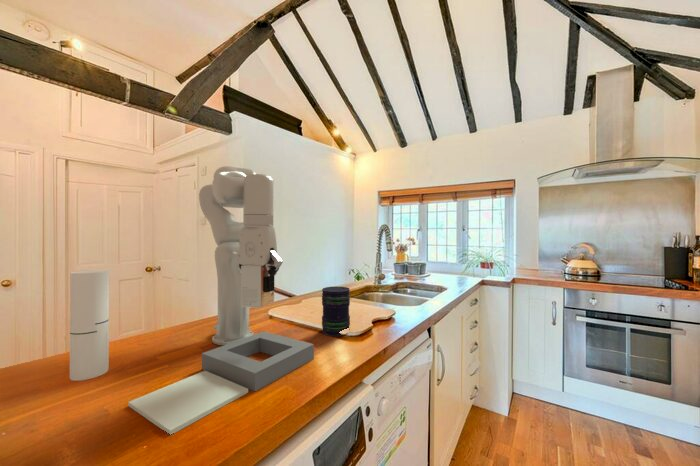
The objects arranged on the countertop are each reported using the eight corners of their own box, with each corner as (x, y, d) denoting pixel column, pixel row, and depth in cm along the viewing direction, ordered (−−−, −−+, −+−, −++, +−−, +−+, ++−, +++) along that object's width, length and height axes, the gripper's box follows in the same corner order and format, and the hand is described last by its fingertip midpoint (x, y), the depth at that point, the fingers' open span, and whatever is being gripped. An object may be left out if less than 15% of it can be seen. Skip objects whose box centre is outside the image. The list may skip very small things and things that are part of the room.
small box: (260, 308, 73) (260, 265, 73) (240, 307, 74) (240, 265, 74) (275, 301, 81) (275, 262, 81) (256, 300, 82) (256, 262, 82)
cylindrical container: (115, 369, 74) (115, 270, 74) (81, 382, 68) (82, 273, 68) (96, 365, 77) (97, 269, 77) (62, 377, 70) (63, 272, 70)
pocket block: (201, 369, 74) (201, 353, 74) (263, 344, 91) (263, 331, 91) (255, 391, 64) (255, 373, 64) (313, 358, 81) (313, 344, 81)
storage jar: (326, 337, 97) (326, 292, 97) (318, 328, 106) (318, 287, 106) (354, 334, 101) (354, 290, 101) (344, 325, 110) (344, 285, 110)
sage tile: (128, 405, 58) (128, 401, 58) (204, 373, 72) (205, 370, 72) (170, 435, 50) (170, 430, 50) (248, 392, 63) (248, 388, 63)
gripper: (225, 222, 79) (224, 289, 78) (271, 221, 69) (271, 296, 69) (247, 223, 85) (247, 284, 85) (293, 222, 76) (293, 291, 76)
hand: (258, 289), depth 77 cm, fingers closed on small box, 7 cm apart
